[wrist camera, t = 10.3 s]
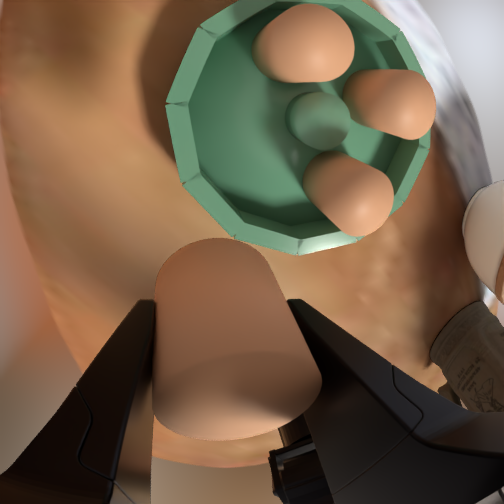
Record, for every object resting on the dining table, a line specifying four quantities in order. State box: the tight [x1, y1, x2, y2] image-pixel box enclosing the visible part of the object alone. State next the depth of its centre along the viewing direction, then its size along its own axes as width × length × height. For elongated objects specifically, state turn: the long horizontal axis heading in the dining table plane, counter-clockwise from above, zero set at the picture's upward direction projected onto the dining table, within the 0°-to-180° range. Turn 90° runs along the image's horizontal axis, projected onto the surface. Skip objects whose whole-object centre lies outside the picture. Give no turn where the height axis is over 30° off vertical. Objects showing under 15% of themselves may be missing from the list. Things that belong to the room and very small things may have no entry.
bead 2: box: [251, 4, 354, 83], centre depth 11 cm, size 4×4×4 cm
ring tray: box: [165, 0, 430, 256], centre depth 15 cm, size 15×15×3 cm
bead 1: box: [152, 238, 322, 441], centre depth 7 cm, size 4×4×4 cm
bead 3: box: [342, 69, 436, 140], centre depth 13 cm, size 4×4×4 cm
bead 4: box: [303, 150, 394, 237], centre depth 16 cm, size 4×4×4 cm
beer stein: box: [430, 301, 504, 413], centre depth 26 cm, size 15×11×20 cm
